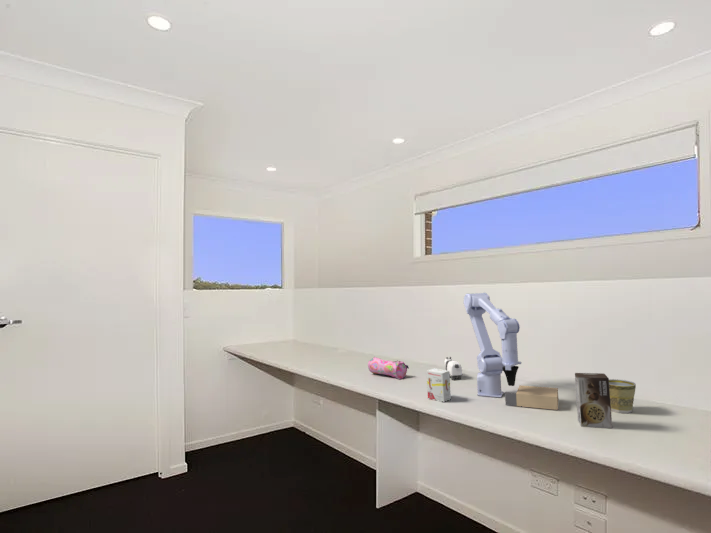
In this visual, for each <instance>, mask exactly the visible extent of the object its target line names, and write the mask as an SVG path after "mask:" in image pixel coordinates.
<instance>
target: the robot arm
mask: <svg viewBox="0 0 711 533" xmlns="http://www.w3.org/2000/svg"><path fill="white" fill-rule="evenodd" d="M463 306H464V308H465V312H466V314H467V315H468V316H469V320H470V322H471V325H472V329H473V332H474V335H475V338H476V341H477V344H478V347H479V349H480V352H479V353H478V355H477V356H476V361H477V369H478V370H479V372H477V375H476V381H477V382H476V385H477V386H476V387H477V396H482V397H491V398H502V396H503V394H505V391H502V376H501V374H503V373H504V375H505V378H506V381H507V385H508V386H509V387H510V386H511V387H515V385H516V379H517V378H516V377H517V373H518V370H519V368H520V366H517V365H522V361H519V355H518V354H519V353H518V337H517V336H518V333H519V332H520V328H521V325H520V324H519V321H518V320H517V319H516V318H512V317H510V316H509V315H507V314H506V313H505V312H504V311H503V309H502V308H499V307H496V306H495V305H494V304H493V303H492V302H491V299H490V295H489V294H488V293H487V292H479V293H478V292H475V293H465V294H464V296H463ZM486 312H487V313H488V314H489V319H490V320H491V321H492V322H493V323H494V324H495V325H496V326H497V332H498V333H499V338H500V340H501V353H500V352H499V351H498V350H496V349H495V348H493V345H492V343H491V342H492V341H491V339H490V337H489V333H488V330H487V327H486V325H485V322H484V319H483V314H485V313H486Z"/></svg>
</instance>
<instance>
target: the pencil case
mask: <svg viewBox="0 0 711 533" xmlns="http://www.w3.org/2000/svg"><path fill="white" fill-rule="evenodd" d="M367 367H368V371H369V372H370V373H372V374H374V375H375V374H376V375H377V374H379V375H386V376H390V377H392V378H396V379H399V380H403V379H404V378H405V377H406V375H407V372H408V369H410V368H409V365H408V364H406V363H405V362H404V361H401V360H385V359H382V358H379V357H376V356H374V357H373V358H371V359H370V360H368V363H367Z"/></svg>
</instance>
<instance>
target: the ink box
mask: <svg viewBox="0 0 711 533" xmlns="http://www.w3.org/2000/svg"><path fill="white" fill-rule="evenodd" d="M426 386H427V387H426V388H427V399H428V398H430V399H429V400H432V399H435V400H434V401H436V400H439V401H438V402H440V401H443V402H442V403H445V401H446V402H448V401H447V400H449V401H451V400H450V399H452V398H451V375H450V372H449V371H447V370H446V369H440V368H437V367H436V368H431V369H427V370H426Z"/></svg>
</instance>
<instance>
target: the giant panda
mask: <svg viewBox="0 0 711 533" xmlns="http://www.w3.org/2000/svg"><path fill="white" fill-rule="evenodd" d="M443 362H444V363H443V364H444V367H445V370H447V371H449V372H450V381H456V379H457V380H458V381H461V380H462V376H463V369H462V368H463V367H462V365H461V364H460V361H457V360H453V358H452V357H451V356H449V357H448V356H447V357H445V359H444V361H443Z"/></svg>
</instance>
